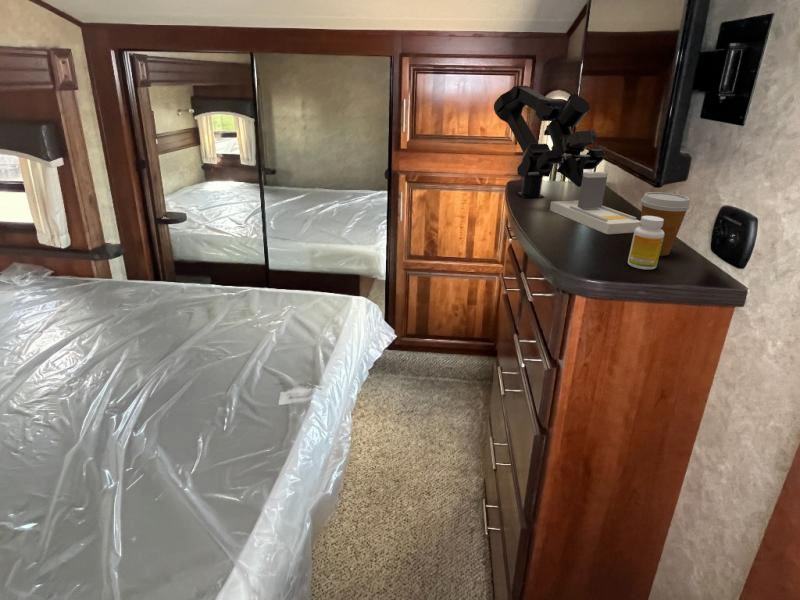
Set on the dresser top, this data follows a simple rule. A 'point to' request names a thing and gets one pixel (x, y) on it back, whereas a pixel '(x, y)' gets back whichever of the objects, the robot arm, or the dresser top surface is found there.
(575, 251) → the dresser top surface
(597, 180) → the fader tab
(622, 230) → the white slider track base
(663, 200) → the disposable coffee cup
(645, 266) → the supplement bottle
